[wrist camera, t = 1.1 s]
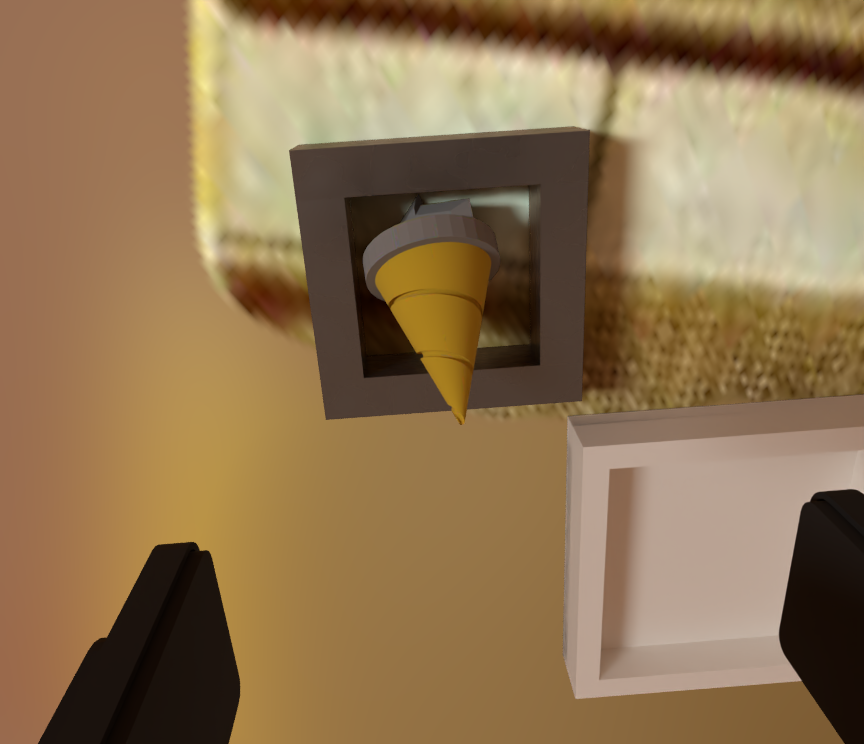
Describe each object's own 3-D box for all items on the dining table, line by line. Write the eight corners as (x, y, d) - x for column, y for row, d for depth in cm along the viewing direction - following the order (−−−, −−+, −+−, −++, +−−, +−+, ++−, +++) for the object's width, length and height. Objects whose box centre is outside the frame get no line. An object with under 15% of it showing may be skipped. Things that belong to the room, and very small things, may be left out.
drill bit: (507, 185, 28) (562, 409, 25) (414, 243, 32) (451, 450, 28) (423, 130, 24) (475, 389, 21) (326, 202, 28) (357, 439, 24)
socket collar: (573, 126, 27) (589, 130, 25) (568, 377, 31) (581, 401, 29) (298, 144, 27) (289, 150, 25) (331, 394, 31) (325, 419, 29)
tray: (879, 393, 32) (923, 422, 30) (826, 633, 38) (859, 675, 36) (567, 416, 32) (583, 447, 30) (562, 654, 38) (575, 698, 35)
